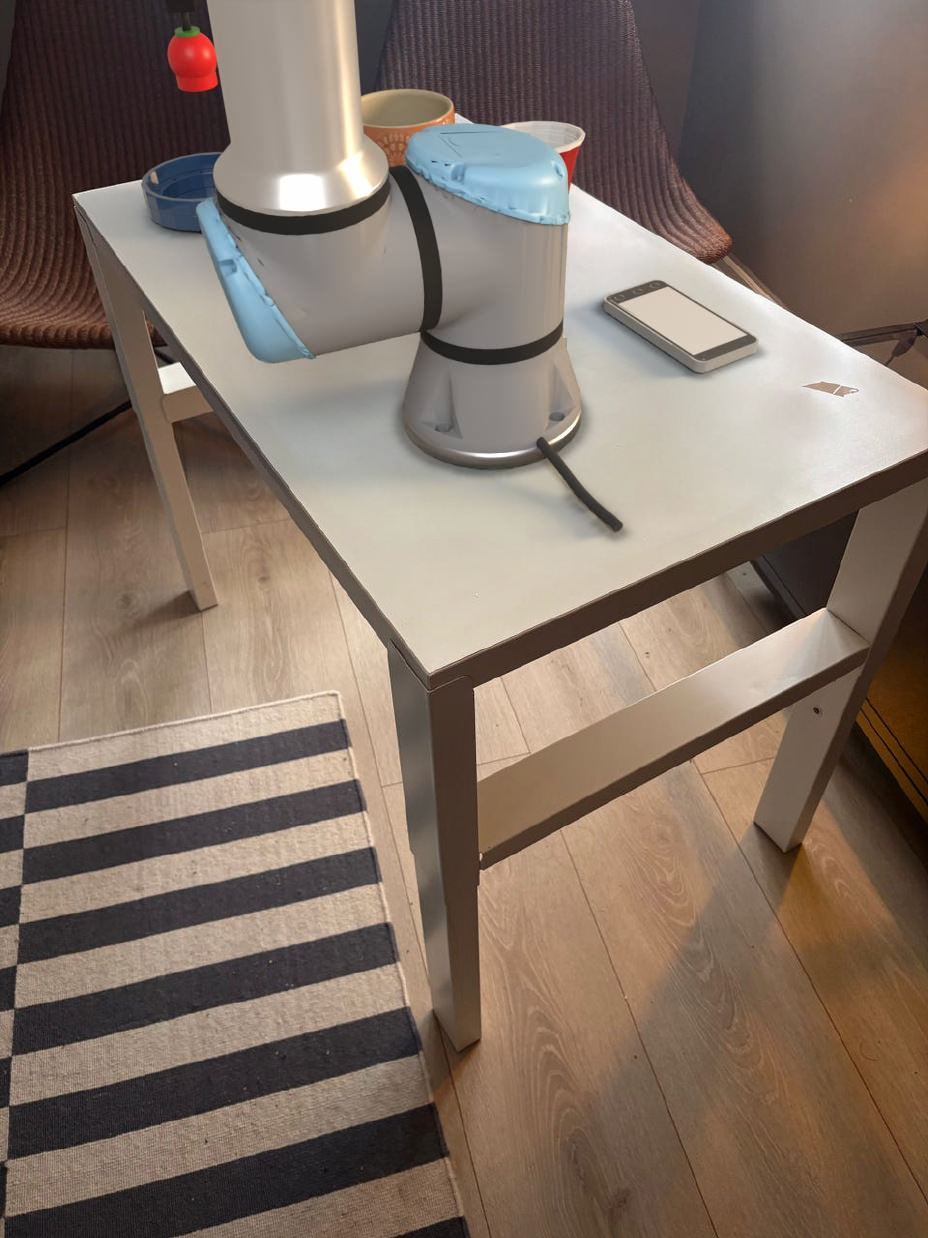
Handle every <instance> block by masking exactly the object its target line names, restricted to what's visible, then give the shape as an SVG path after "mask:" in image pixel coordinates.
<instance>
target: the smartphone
mask: <svg viewBox="0 0 928 1238" xmlns="http://www.w3.org/2000/svg"><path fill="white" fill-rule="evenodd" d="M603 311H604V312H606V313H607V314H608V315H610V316H611V317H613V318H614V319H616V320H617V321H619V322H620V323H622V324H623V325H625V326H626V327H628V328H629V329H631V330H632V331H633V332H635V333H637V334H638V335H640V336H641V337H643V338H644V339H646V340H647V341H648V342H650V343H652V344H653V345H654V346H655V347H657V348H658V349H660V350H662V351H663V352H665V353H666V354H667V355H669V356H671V357H672V358H674V359H675V360H677V361H678V362H680V364H683V365H684V366H686V367H687V368H688V369H690V370H691V371H693V372H695V373H701V374H703V373H708V372H710V371H713V370H715V369H717V368H720V367H723V366H725V365H728V364H731V363H733V362H737V361H738V360H741V359H743V358H746V357H749V356H752V355H754V354H755V353H757V351H758V346H759V337H757V336H756V335H755V334H753V333H752V332H751V331H748V330H747V329H745V328H743V327H742V326H740V325H738V324H737V323H735V322H733V321H732V320H730V319H728V318H727V317H725V316H723V315H722V314H720V313H719V312H717V311H716V310H713V309H712V308H711V307H708V306H707V305H705V304H704V303H702V302H700V301H699V300H697V299H695V298H694V297H692V296H690V295H689V294H687V293H686V292H684V291H682V290H681V289H679V288H678V287H676V286H674V285H672V284H671V283H669V282H667V281H665V280H663V279H658V278H656V279H651V280H648V281H645V282H643V283H640V284H635V285H634V286H631V287H628V288H624V289H622V290H618V291H615V292H612V293H610V294H607V295H604V298H603Z"/></svg>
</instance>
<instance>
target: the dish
mask: <svg viewBox="0 0 928 1238" xmlns="http://www.w3.org/2000/svg"><path fill="white" fill-rule="evenodd" d="M223 152H224V151H211V152H198V153H194V154H189V155H183V156H178V157H175V158H172V159H170V160H166V161H163V162H161V163H160V164H158V165H156V166H154V167H152V168H151V169H149V170H148V171H147V172H146V173H145V174H144V175H143V176H142V180H141V182H140V187H141V190H142V193H143V197H144V202H145V205H146V208H147V213H148V215H149V217H150V219H151V220H152V221H153V222H154V223H156V224H158V225H160V226H162V227H165V228H170V229H174V230H177V231H192V232H195V231H198V232H199V231H200V232H202V231H201V228H200V224H199V219H198V215H197V214H196V207H197V205H198V204H200V203H201V202H203V201H205V200H206V199H209V197H210V198H217V194H216V188H215V183H214V177H213V171H214V165H215V163H216V161H217V159H218V158H219V157H220V155H221V154H222V153H223Z"/></svg>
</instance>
